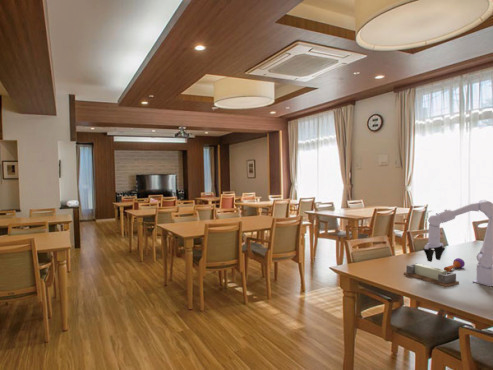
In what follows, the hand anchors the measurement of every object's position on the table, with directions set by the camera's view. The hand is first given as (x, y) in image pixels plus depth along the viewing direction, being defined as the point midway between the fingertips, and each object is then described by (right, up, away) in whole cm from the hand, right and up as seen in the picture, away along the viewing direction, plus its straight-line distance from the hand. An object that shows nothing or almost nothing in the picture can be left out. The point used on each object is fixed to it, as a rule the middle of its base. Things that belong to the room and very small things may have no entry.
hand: (433, 260), depth 189 cm
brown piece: (+21, -9, +15) cm, 28 cm away
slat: (-4, -8, -3) cm, 10 cm away
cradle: (-4, -9, -3) cm, 11 cm away
